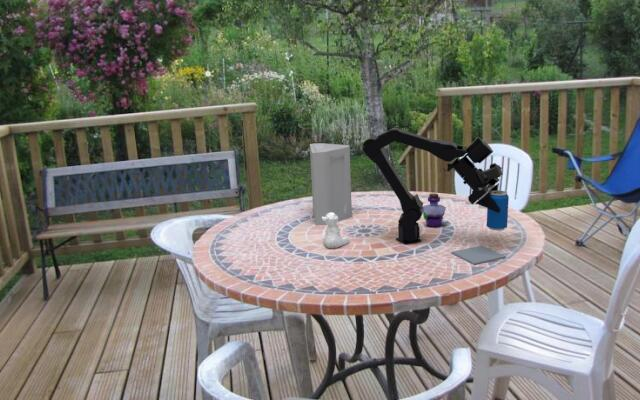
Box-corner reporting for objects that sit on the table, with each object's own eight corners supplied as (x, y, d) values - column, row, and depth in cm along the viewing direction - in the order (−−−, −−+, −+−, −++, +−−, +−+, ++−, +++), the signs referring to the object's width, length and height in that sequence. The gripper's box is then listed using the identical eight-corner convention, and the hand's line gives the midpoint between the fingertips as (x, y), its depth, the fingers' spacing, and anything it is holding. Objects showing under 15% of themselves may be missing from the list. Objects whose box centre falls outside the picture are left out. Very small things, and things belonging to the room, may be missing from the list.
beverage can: (503, 224, 211) (505, 189, 208) (509, 230, 205) (511, 194, 201) (483, 225, 211) (485, 190, 207) (490, 231, 204) (491, 195, 201)
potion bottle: (417, 225, 235) (416, 194, 232) (432, 220, 240) (432, 189, 237) (435, 230, 229) (435, 198, 226) (450, 225, 234) (450, 193, 231)
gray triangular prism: (354, 223, 242) (352, 150, 235) (315, 225, 241) (312, 152, 234) (349, 209, 260) (346, 141, 253) (313, 211, 260) (309, 143, 253)
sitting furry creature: (350, 242, 221) (349, 208, 218) (344, 250, 213) (343, 216, 210) (324, 240, 223) (322, 208, 220) (317, 249, 215) (315, 215, 212)
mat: (474, 265, 194) (474, 263, 194) (451, 253, 205) (451, 251, 205) (505, 258, 199) (506, 256, 199) (481, 247, 210) (481, 245, 209)
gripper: (479, 162, 195) (514, 201, 193) (494, 151, 211) (527, 187, 209) (454, 185, 201) (487, 222, 199) (470, 172, 217) (501, 207, 215)
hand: (501, 209), depth 205 cm, fingers closed on beverage can, 6 cm apart
